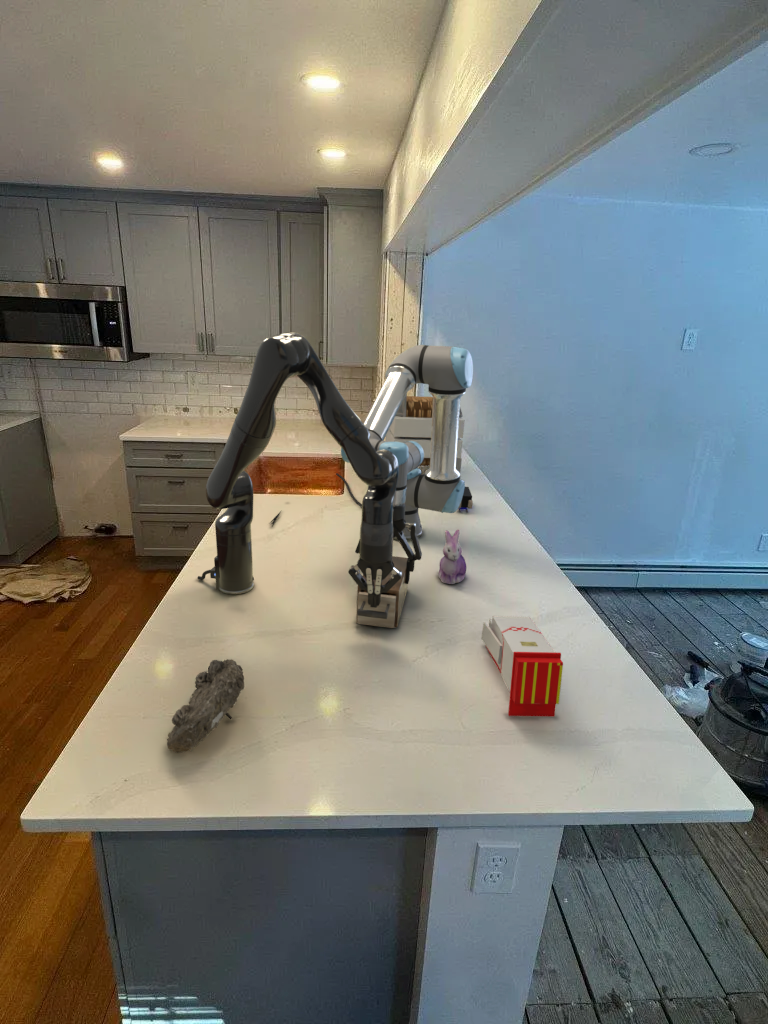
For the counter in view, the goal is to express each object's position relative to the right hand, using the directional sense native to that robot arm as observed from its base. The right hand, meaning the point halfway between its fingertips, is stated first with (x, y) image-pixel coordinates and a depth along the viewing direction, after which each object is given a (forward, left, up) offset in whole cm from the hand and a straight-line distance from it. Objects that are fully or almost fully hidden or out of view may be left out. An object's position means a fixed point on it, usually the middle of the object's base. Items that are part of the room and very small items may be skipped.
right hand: (387, 579), depth 154 cm
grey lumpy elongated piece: (+16, -58, -5) cm, 61 cm away
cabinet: (+3, -4, -5) cm, 7 cm away
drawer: (+7, -8, -4) cm, 12 cm away
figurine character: (-38, +73, -5) cm, 83 cm away
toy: (+44, -1, -5) cm, 44 cm away
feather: (-72, +9, -5) cm, 73 cm away
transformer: (-85, +95, -5) cm, 127 cm away
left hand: (+13, -16, +3) cm, 21 cm away
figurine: (+3, +23, -5) cm, 24 cm away
